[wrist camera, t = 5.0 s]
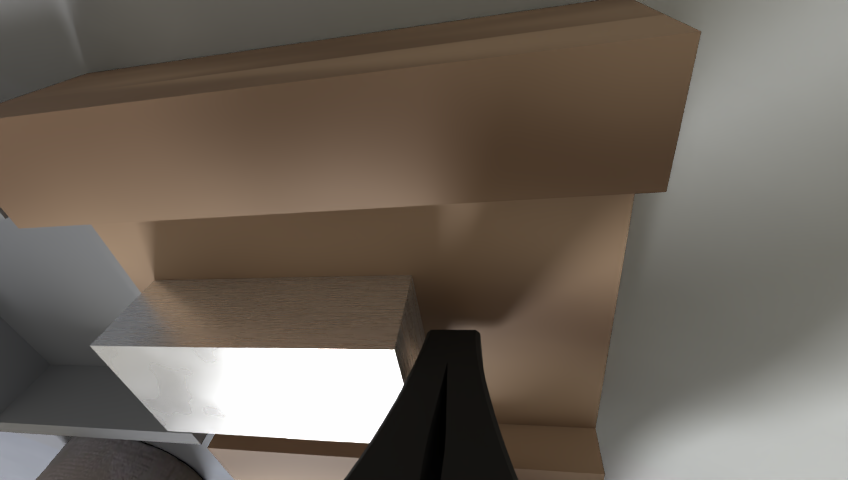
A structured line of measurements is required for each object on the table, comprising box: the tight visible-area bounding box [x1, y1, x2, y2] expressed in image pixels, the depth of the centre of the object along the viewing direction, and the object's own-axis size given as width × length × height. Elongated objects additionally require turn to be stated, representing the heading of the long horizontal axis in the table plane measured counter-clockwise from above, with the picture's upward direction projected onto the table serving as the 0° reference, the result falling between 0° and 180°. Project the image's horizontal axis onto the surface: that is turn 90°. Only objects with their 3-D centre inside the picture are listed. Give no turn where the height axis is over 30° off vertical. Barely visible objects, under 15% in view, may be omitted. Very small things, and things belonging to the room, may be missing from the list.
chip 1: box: [90, 278, 286, 438], centre depth 12 cm, size 4×4×2 cm
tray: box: [0, 207, 207, 445], centre depth 16 cm, size 12×12×4 cm
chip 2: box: [230, 275, 425, 443], centre depth 11 cm, size 4×4×2 cm
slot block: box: [0, 0, 701, 480], centre depth 13 cm, size 15×14×4 cm
